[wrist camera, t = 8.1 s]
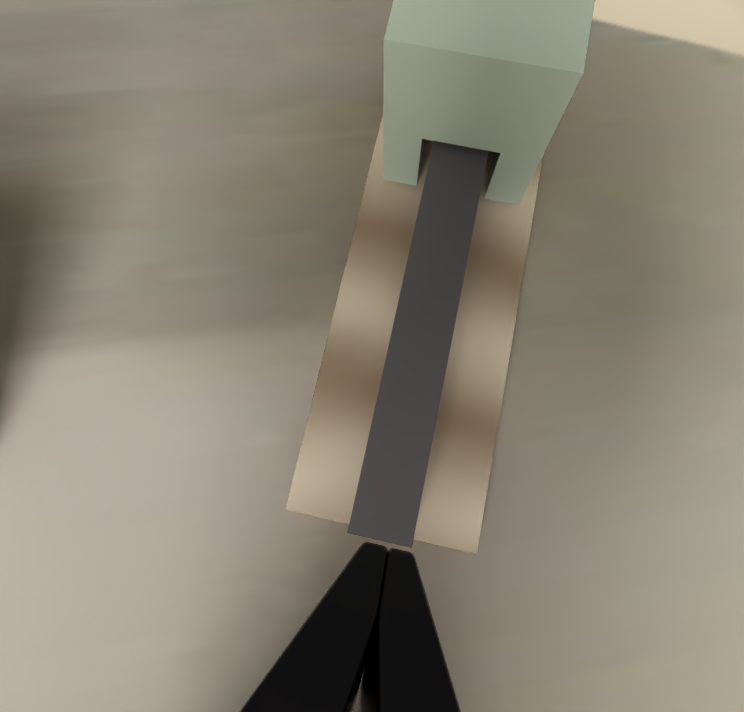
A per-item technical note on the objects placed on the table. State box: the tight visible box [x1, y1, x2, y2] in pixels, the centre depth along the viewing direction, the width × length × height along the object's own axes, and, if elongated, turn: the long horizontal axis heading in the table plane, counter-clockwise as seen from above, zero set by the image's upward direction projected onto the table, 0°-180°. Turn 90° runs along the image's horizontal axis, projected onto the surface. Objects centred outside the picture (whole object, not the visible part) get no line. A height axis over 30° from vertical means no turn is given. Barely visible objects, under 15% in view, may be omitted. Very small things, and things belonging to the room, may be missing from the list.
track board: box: [285, 116, 543, 554], centre depth 22 cm, size 21×7×2 cm, turn 168°
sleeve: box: [383, 0, 595, 205], centre depth 19 cm, size 4×6×7 cm
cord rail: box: [347, 141, 488, 548], centre depth 20 cm, size 20×2×3 cm, turn 168°
